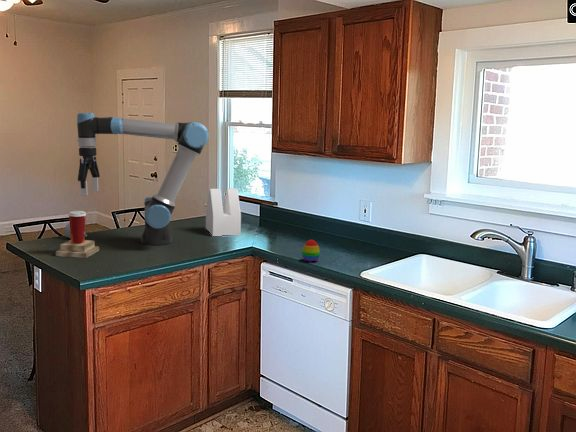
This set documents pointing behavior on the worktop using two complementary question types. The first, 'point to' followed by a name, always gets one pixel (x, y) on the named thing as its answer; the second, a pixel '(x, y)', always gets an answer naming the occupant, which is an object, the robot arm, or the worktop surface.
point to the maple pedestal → (77, 249)
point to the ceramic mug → (67, 231)
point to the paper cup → (77, 226)
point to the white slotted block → (223, 213)
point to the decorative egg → (311, 251)
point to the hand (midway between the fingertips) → (89, 193)
